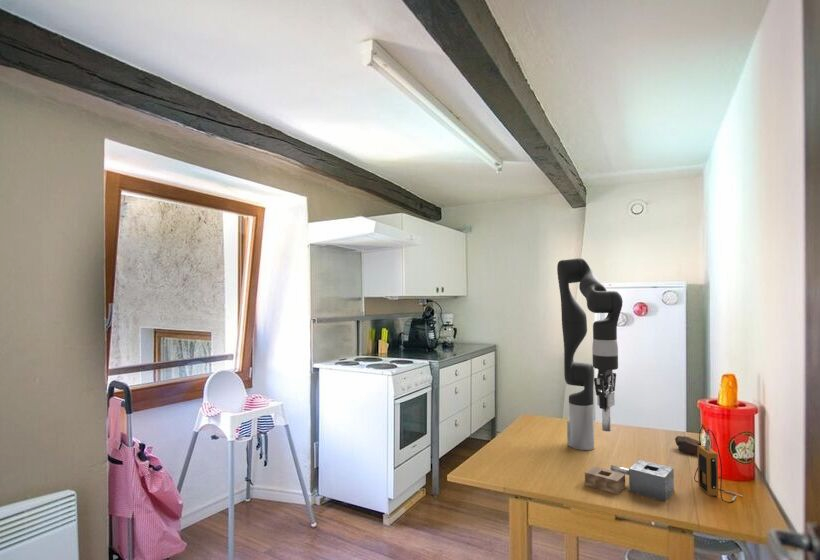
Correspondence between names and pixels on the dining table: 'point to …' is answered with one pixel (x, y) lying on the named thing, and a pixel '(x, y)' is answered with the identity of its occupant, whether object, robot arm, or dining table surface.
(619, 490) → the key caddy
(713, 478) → the multimeter
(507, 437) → the dining table surface
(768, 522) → the dining table surface
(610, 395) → the grey square peg
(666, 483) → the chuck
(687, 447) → the rough brown rock chunk
